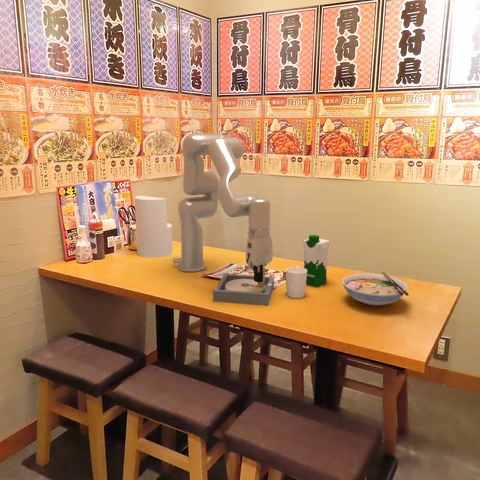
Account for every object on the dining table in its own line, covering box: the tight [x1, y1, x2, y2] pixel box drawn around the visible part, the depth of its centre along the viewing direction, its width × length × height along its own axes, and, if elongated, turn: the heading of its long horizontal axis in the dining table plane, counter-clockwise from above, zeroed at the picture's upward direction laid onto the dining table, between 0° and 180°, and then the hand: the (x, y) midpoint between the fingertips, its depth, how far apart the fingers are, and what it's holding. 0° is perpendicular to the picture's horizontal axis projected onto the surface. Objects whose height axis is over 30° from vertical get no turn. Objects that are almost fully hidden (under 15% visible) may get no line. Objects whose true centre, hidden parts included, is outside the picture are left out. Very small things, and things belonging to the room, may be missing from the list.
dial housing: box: [212, 273, 275, 306], centre depth 173 cm, size 20×20×4 cm
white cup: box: [285, 266, 307, 299], centre depth 171 cm, size 8×8×10 cm
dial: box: [225, 269, 266, 293], centre depth 172 cm, size 15×15×9 cm
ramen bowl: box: [342, 271, 409, 307], centre depth 165 cm, size 25×23×8 cm
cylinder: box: [134, 195, 173, 259], centre depth 224 cm, size 17×17×28 cm
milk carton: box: [303, 234, 331, 288], centre depth 183 cm, size 9×9×20 cm
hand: (258, 281), depth 167 cm, fingers closed
